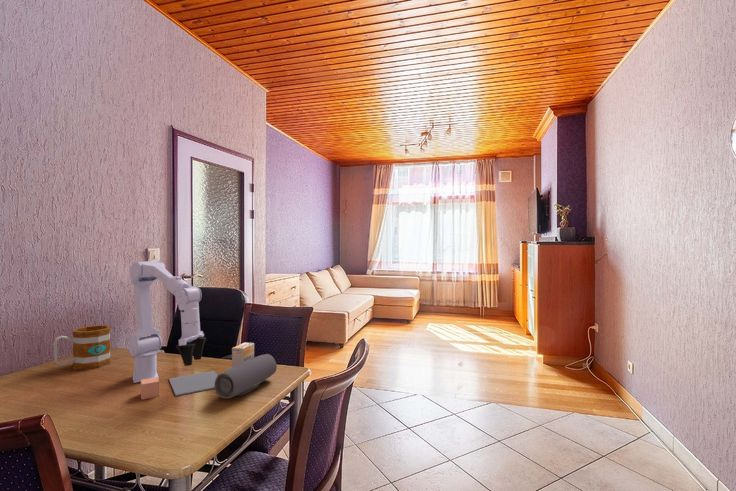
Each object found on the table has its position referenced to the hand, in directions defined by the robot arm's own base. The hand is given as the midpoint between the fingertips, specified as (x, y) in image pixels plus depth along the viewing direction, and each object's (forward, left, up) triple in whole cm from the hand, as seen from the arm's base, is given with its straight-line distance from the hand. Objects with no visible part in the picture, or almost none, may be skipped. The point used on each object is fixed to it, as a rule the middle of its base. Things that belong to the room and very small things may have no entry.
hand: (193, 362), depth 128 cm
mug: (-53, -32, -11) cm, 63 cm away
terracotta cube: (-5, -12, -10) cm, 17 cm away
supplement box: (-2, +18, -11) cm, 21 cm away
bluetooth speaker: (+8, +16, -11) cm, 21 cm away
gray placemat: (-8, +3, -10) cm, 14 cm away
